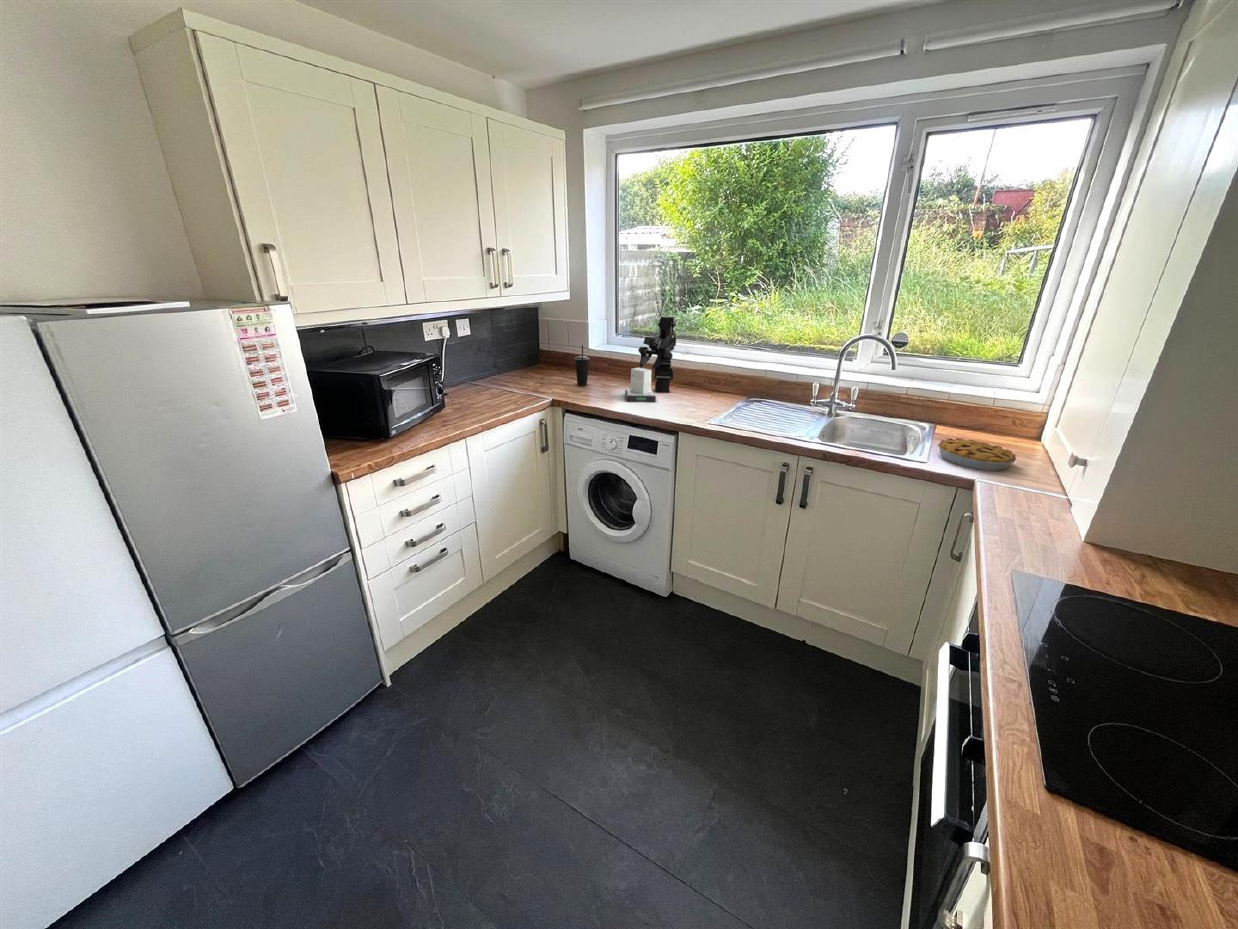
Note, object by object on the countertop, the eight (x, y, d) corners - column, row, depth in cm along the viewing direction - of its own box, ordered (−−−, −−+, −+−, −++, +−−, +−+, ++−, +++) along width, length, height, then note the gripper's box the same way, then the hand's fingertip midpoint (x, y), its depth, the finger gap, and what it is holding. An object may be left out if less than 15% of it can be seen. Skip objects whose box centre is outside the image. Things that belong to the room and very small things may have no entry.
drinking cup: (589, 387, 251) (589, 346, 244) (573, 386, 251) (574, 346, 244) (590, 383, 258) (590, 344, 251) (575, 383, 258) (575, 343, 251)
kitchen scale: (651, 395, 239) (652, 388, 238) (655, 402, 227) (655, 395, 226) (624, 394, 238) (625, 388, 237) (627, 401, 226) (627, 394, 225)
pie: (923, 456, 169) (927, 442, 168) (952, 445, 181) (956, 432, 180) (997, 477, 153) (1002, 462, 151) (1023, 464, 165) (1028, 450, 163)
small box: (650, 392, 231) (652, 369, 227) (643, 394, 227) (644, 371, 223) (637, 389, 236) (638, 367, 232) (629, 391, 232) (630, 368, 228)
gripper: (639, 329, 236) (623, 356, 234) (666, 329, 222) (649, 358, 220) (653, 343, 243) (637, 370, 241) (680, 345, 229) (663, 373, 227)
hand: (646, 367), depth 232 cm, fingers open, 9 cm apart
